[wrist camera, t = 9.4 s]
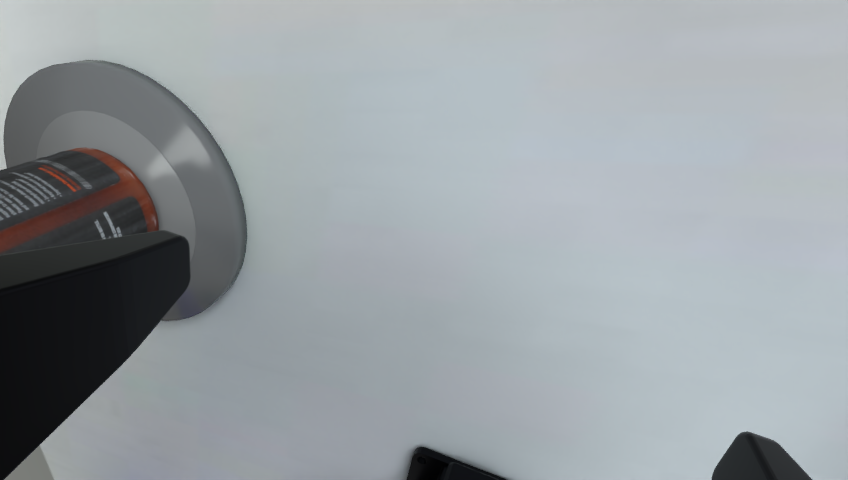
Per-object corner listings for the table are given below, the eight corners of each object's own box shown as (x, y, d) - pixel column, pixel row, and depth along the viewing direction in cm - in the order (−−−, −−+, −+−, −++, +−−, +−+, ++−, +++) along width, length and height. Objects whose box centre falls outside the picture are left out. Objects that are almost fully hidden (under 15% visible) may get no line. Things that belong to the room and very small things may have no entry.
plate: (244, 342, 28) (232, 354, 27) (46, 267, 30) (29, 276, 29) (249, 101, 22) (234, 106, 21) (-1, 30, 24) (-25, 32, 23)
